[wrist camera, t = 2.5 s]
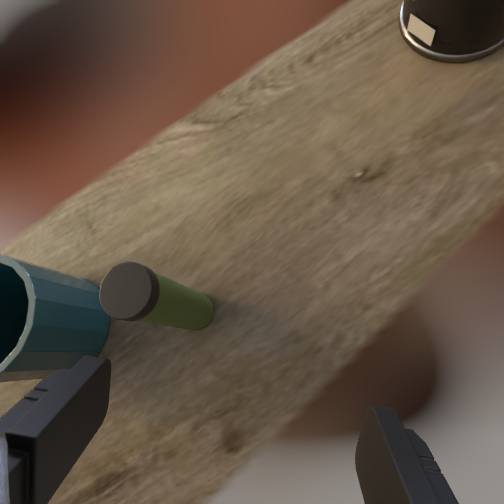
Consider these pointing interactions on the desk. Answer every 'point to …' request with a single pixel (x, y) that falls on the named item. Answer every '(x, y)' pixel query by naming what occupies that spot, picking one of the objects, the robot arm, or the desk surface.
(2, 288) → the cup
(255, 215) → the desk surface
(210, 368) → the desk surface
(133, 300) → the tube
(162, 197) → the desk surface
